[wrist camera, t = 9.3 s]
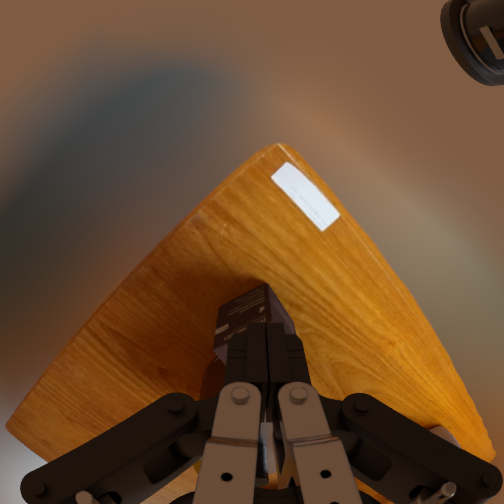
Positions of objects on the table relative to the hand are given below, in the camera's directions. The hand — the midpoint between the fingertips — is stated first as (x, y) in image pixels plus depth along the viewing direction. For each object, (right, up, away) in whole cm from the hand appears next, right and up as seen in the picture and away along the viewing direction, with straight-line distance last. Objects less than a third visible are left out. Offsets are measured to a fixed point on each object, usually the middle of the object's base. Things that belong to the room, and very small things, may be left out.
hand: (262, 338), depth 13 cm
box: (0, -3, +20) cm, 20 cm away
